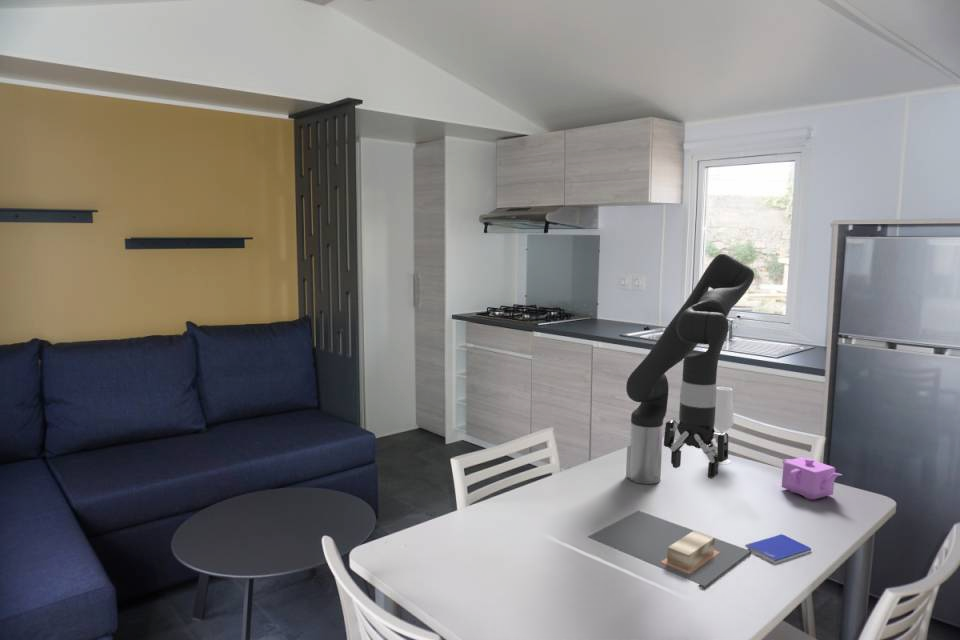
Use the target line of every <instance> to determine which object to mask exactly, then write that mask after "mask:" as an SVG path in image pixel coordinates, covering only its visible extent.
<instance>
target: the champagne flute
mask: <svg viewBox="0 0 960 640" xmlns="http://www.w3.org/2000/svg"><path fill="white" fill-rule="evenodd" d="M716 391H717V396H716V411H715V424H714V429H715V430H717V431H718V432H719V433H721V434H723V433H726V432H727V431H728V430H729V429H731V428H732V427H733V425H734V400H733V399H734V397H733V388H731V387H727V386H716ZM730 462H731V463H732V461H731V460H730V459H729V458H728V459H727V460H725V461H723V462H719V463H720V464H719V465H729V463H730ZM731 463H730V464H731Z"/></svg>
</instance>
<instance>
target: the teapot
mask: <svg viewBox="0 0 960 640" xmlns="http://www.w3.org/2000/svg"><path fill="white" fill-rule="evenodd" d="M781 476H782V477H781V488H783V489H786V490H788V491H789V492H790V493H792V494H798V495H801V496H803V497H804V498H805V499H807V500H814V501H815V500H817V499H818V500H819V499H821V498H824V497H827V496H828V497H829V496H832V495H834V487H835V480H836V478H837V477H839V476H843V474H841V473H839V472H836V468H835V467H834V466H832V465H828V464H826V463H823V462H820V461H817V460H814V459H813V458H810V457H808V458H807V457H804V456H802V457H801V456H800V457H796V458H792V459H788V458H785V459H782V475H781Z"/></svg>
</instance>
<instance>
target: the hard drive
mask: <svg viewBox="0 0 960 640" xmlns="http://www.w3.org/2000/svg"><path fill="white" fill-rule="evenodd" d="M745 547H746V549H747V550H750V551H751V553H754V554H755V555H757V556H760V557H761V558H762V559H765V560H766V559H767V560H766V561H768V560H769V563H772V562H773V564H774V563H776V564H780V563H781V561H782V562H784V560H785V561H788V560H791V559H794V558H797V557H800V556H802V554H803V555H807V554H809V553H812V548H811V547H809V546H807V545H806V544H804V543H802V542H799V541H797V540H796V539H793V538H791V537H789V536H787V535H785V534H782V533H780V534H778V535H774V536H771V537H768V538H764V539H760V540H757V541H754V542H751V543H747V544H745ZM808 552H809V553H808ZM799 555H800V556H799ZM796 556H797V557H796ZM793 557H794V558H793ZM790 558H791V559H790ZM787 559H788V560H787Z"/></svg>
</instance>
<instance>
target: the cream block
mask: <svg viewBox="0 0 960 640" xmlns="http://www.w3.org/2000/svg"><path fill="white" fill-rule="evenodd" d="M715 538H716V537H714V536H712V535H708V534H705V533H703V532H700V531H697V530H694V531H693V532H691V533H689V534H688V535H686V536H685V537H683V538H682V539H680V540H678V541H677V542H675V543H674V544H672V545H670V546H669V547H668V553H667V562H668V563H670V564H673V565H675V566H678V567H680V568H683V569H685V570H689V569H691V568H692V567H694V566H695V565H696V564H698V563H699V562H701V561H702V560H703V559H705V558H706V557H708V556H709V555H711V554H712V553H713V552H714V543H715Z"/></svg>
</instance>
